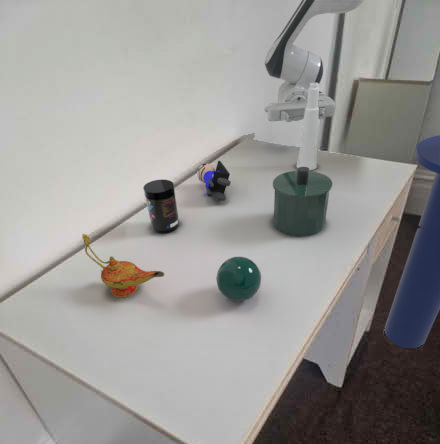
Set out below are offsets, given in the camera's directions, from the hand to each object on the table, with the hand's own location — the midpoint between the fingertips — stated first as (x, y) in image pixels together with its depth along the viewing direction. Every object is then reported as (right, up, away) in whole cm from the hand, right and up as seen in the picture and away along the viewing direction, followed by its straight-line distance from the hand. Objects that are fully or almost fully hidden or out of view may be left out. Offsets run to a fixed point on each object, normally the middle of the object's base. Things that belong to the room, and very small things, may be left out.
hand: (305, 117), depth 107 cm
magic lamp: (-42, -51, -35) cm, 75 cm away
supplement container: (-38, -35, -18) cm, 55 cm away
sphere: (-21, -52, -38) cm, 68 cm away
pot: (-6, -34, -21) cm, 41 cm away
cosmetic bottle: (+1, -13, +3) cm, 14 cm away
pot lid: (-7, -27, -27) cm, 39 cm away
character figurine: (-26, -24, -6) cm, 36 cm away
